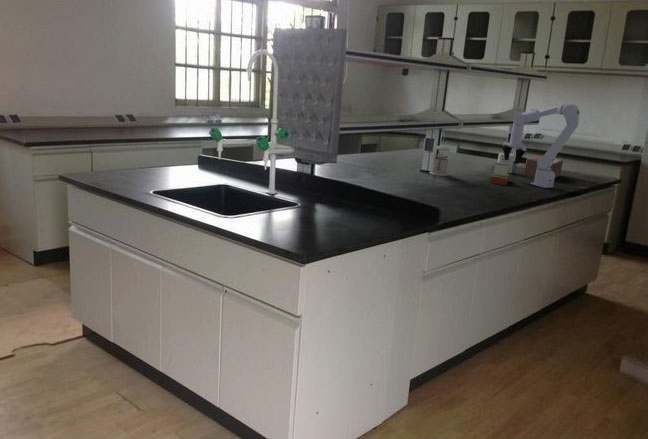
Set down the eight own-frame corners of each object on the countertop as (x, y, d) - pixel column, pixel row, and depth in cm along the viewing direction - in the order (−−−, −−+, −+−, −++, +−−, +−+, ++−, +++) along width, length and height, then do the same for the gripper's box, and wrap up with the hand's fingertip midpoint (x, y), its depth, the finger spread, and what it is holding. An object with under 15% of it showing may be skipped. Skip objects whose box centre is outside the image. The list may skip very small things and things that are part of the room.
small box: (509, 171, 340) (512, 154, 337) (511, 173, 334) (514, 155, 332) (495, 170, 340) (498, 152, 337) (497, 171, 335) (500, 153, 332)
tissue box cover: (549, 181, 323) (553, 163, 320) (523, 176, 330) (527, 159, 327) (559, 176, 344) (563, 159, 341) (535, 171, 351) (538, 155, 348)
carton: (508, 181, 310) (509, 173, 309) (505, 186, 295) (507, 178, 294) (492, 178, 312) (493, 171, 311) (489, 183, 298) (490, 175, 297)
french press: (448, 173, 312) (455, 127, 305) (446, 177, 301) (454, 129, 295) (430, 171, 314) (437, 125, 308) (427, 174, 304) (435, 127, 297)
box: (506, 175, 304) (508, 163, 302) (503, 176, 299) (505, 164, 298) (496, 173, 307) (498, 161, 305) (493, 174, 302) (495, 162, 301)
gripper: (532, 138, 304) (527, 164, 307) (511, 134, 315) (506, 158, 319) (523, 138, 300) (518, 164, 304) (502, 134, 312) (497, 158, 316)
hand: (511, 161), depth 311 cm, fingers open, 7 cm apart
